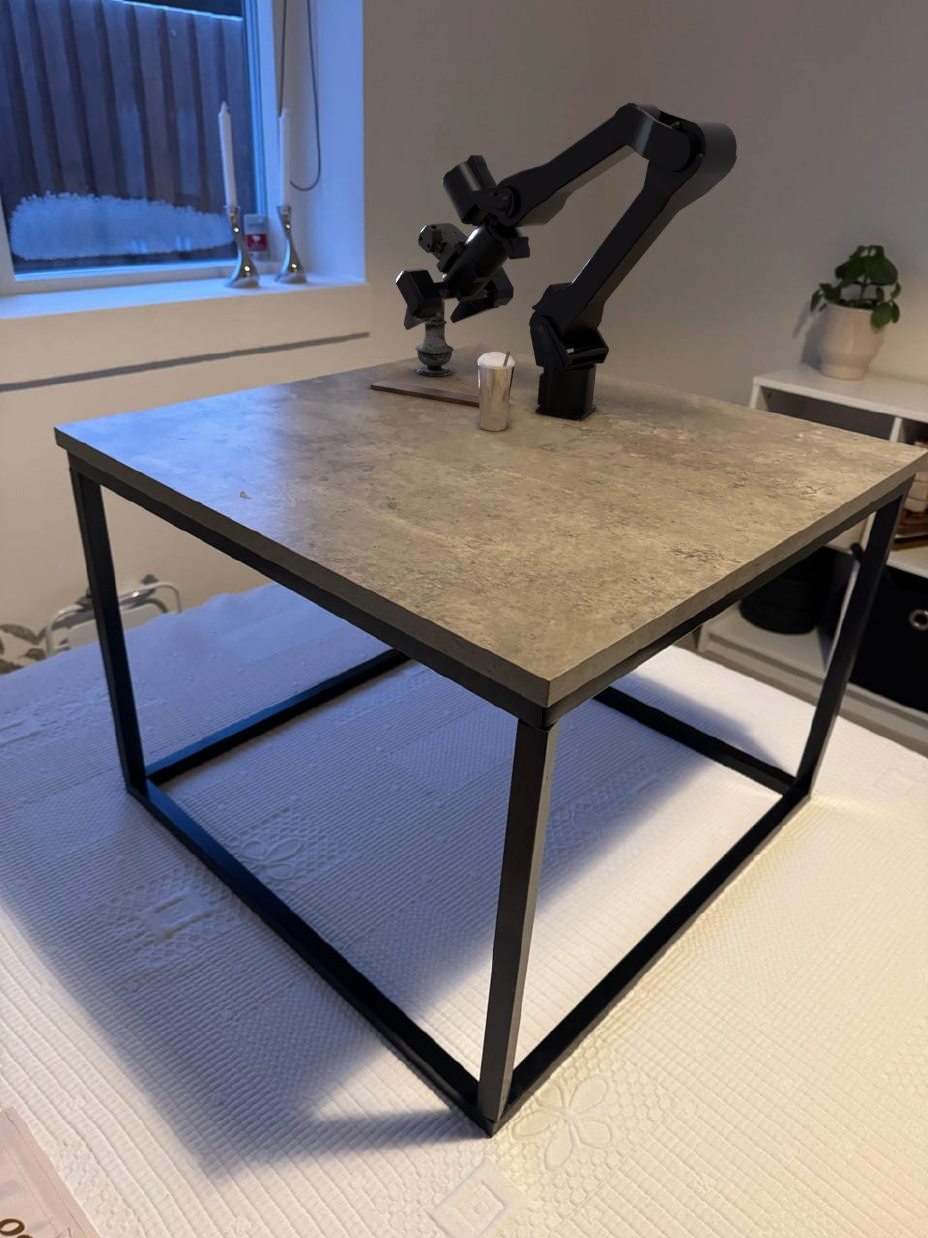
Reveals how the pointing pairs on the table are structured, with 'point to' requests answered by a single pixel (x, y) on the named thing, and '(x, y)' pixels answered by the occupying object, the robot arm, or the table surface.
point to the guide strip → (426, 392)
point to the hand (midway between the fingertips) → (429, 323)
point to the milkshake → (494, 389)
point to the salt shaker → (435, 347)
